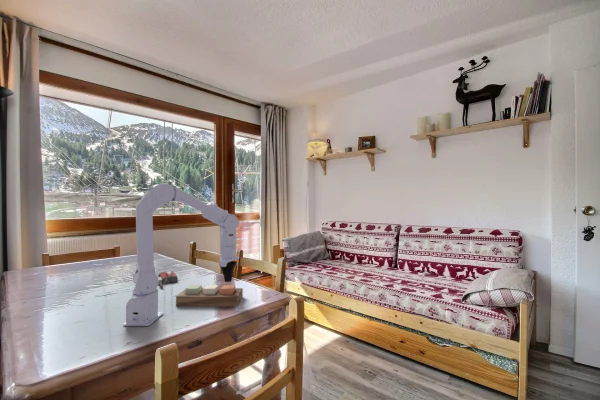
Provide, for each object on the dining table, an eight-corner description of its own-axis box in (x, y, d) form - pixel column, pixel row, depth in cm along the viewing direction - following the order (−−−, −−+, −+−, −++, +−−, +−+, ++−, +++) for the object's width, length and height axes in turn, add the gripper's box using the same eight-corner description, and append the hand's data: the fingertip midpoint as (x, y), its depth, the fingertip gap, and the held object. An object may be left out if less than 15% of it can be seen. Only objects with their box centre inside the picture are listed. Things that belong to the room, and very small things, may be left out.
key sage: (197, 294, 105) (197, 288, 105) (185, 294, 106) (185, 288, 106) (201, 290, 110) (201, 284, 110) (190, 290, 110) (190, 284, 110)
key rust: (232, 294, 105) (232, 288, 105) (220, 294, 105) (220, 288, 105) (235, 290, 110) (235, 285, 110) (223, 290, 110) (223, 285, 110)
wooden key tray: (236, 306, 103) (236, 296, 103) (176, 306, 103) (176, 296, 103) (242, 297, 113) (242, 288, 113) (187, 296, 113) (187, 287, 113)
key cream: (214, 294, 105) (214, 288, 105) (203, 294, 105) (203, 288, 105) (218, 290, 110) (218, 285, 110) (207, 290, 110) (207, 285, 110)
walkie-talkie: (153, 279, 138) (159, 290, 121) (153, 269, 138) (159, 279, 121) (173, 276, 143) (181, 286, 126) (173, 267, 143) (181, 276, 126)
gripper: (234, 249, 100) (234, 287, 100) (242, 242, 115) (242, 276, 115) (214, 248, 100) (214, 287, 100) (225, 242, 115) (225, 276, 115)
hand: (228, 281), depth 108 cm, fingers closed
